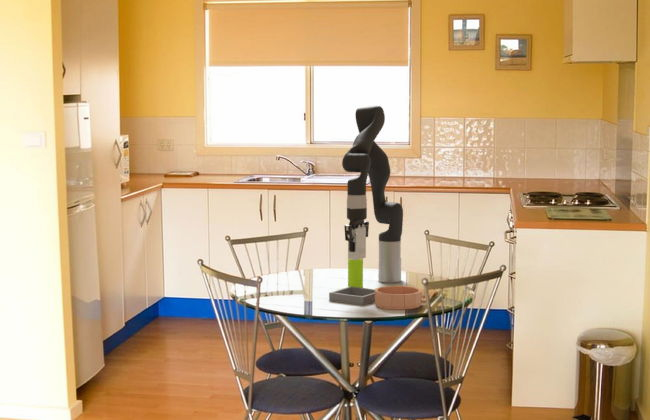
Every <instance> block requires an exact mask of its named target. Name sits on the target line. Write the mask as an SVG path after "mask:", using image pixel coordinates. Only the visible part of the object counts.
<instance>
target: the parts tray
mask: <svg viewBox="0 0 650 420" xmlns="http://www.w3.org/2000/svg"><path fill="white" fill-rule="evenodd" d="M375 289H376V288H365V287H363V288H360V287H352V286H350V287H348V286H347V287H344V288H340V289H337V290H334V291H330V292H328V293H329V294H328V301H330V302H337V303H338V302H339V303H343V304H345V303H346V304H351V305H352V304H353V305H359V306H365V305H367V304H370V303H375Z"/></svg>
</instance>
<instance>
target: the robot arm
mask: <svg viewBox="0 0 650 420" xmlns="http://www.w3.org/2000/svg"><path fill="white" fill-rule="evenodd" d="M385 118H386V116H385V111H384V109H383V107H382V106H380V105H371V106H369V105H368V106H362V107H358V108H357V109H356V110H355V122H356V126H357V129H358V135H357V136H355V139H354V141H353V143H352V146H351V147H350V148H349V150H347V151H346V153H345V154H344V155H343V158H342V161H341V166H342V168H343V170H344V171H345V172H347V173H360V174H359V176H358V177H355V178H350V179H348V181H347V189H346V190H347V191H346V192H347V194H346V195H347V197H346V219H347V220H349V223H348V224H345V225H344V240H345V241H347V243H348V242H349V251H350V252H355V236H356V233H354V234H353V233H352V228H353V230H354V229H355V228H358V229H359V228H360V227H366V238H369V228H370V227H369V226H370V222H369V221H367V217H368V213H367V212H368V208H367V206H368V204H367V201H368V199H367V180H368V178H369V182H370V188H371V194H372V195H371V197H372V204H373V205H372V206H373V213H374V218H375V220H376V222H377V223H378V224H381V225H382V224H383V225H388V229H387V230H385V231H383V232H380V233H378V282H380V283H385V284H387V283H388V284H391V283H400V282H401V281H402V257H401V256H402V255H401V252H402V247H401V244H402V243H401V242H402V241H401V240H402V235H403V234H402V233H403V225H404V224H403V223H404V222H403V221H404V210H403V205H402V204H401V203H399V202H391V201H387V200H386V196H385V190H386V188H387V184H388V181H389V179H390V177H391V166H390V162H389V157H388V155H387V153H386V152H385V151H384V150H383V149H382V148H381V147H380V146H379V145H378V143H377V142H375V139H376V138H377V137H378V135H379V134H380V132H381V131H382V129H383V127H384V125H385V123H386V122H385V120H386V119H385ZM365 220H366V221H365ZM348 235H349V237H348ZM352 236H353V239H352Z"/></svg>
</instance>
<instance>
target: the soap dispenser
mask: <svg viewBox="0 0 650 420" xmlns="http://www.w3.org/2000/svg"><path fill="white" fill-rule="evenodd" d="M347 273H348V274H347V287H350V286H352V287H360V288H364V258H362V259H358V260H351V259H348V258H347Z"/></svg>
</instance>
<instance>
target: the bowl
mask: <svg viewBox="0 0 650 420" xmlns="http://www.w3.org/2000/svg"><path fill="white" fill-rule="evenodd" d="M374 289H375V301H374V306H375V307H377V308H379V309H382V310H383V309H385V310H393V311H404V310H406V311H407V310H415V309H418V308H420V307H421V306H422V289H421V288H418V287H416V286H409V285H408V286H407V285H387V286H379V287H377V288H374Z"/></svg>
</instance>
